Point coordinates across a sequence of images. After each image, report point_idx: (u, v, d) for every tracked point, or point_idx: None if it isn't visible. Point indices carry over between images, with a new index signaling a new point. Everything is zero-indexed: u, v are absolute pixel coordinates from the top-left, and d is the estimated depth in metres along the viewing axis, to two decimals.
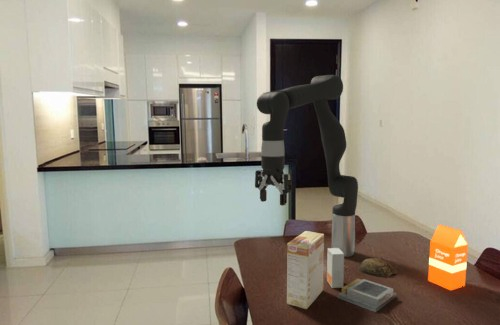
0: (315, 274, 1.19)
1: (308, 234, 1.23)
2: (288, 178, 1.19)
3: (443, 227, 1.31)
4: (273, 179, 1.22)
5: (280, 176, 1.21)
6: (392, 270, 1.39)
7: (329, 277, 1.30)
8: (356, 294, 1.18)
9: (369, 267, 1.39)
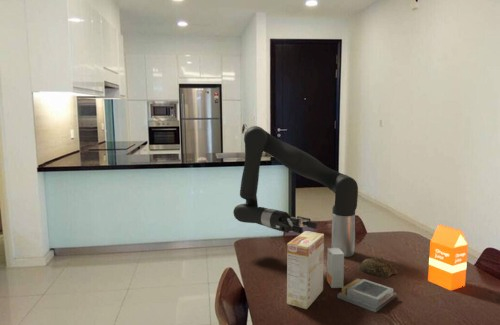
0: (315, 274, 1.19)
1: (308, 234, 1.23)
2: (277, 227, 1.38)
3: (443, 227, 1.31)
4: None
5: None
6: (392, 270, 1.39)
7: (329, 277, 1.30)
8: (356, 294, 1.18)
9: (370, 267, 1.39)
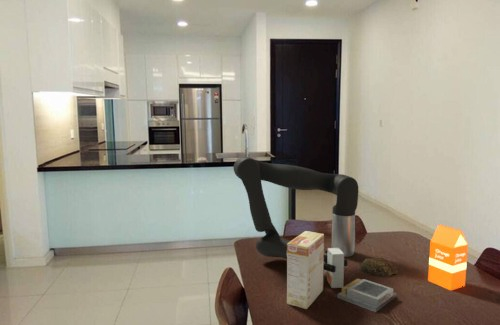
0: (315, 274, 1.19)
1: (308, 234, 1.23)
2: None
3: (443, 227, 1.31)
4: None
5: None
6: (393, 270, 1.39)
7: (329, 277, 1.30)
8: (356, 294, 1.18)
9: (370, 267, 1.40)
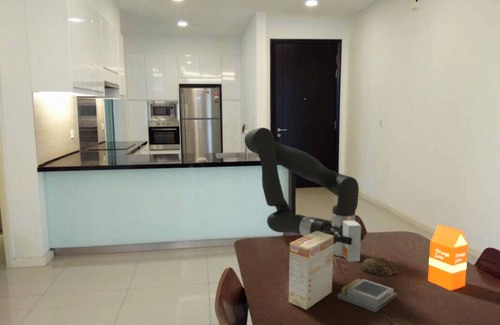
0: (320, 276, 1.17)
1: (317, 235, 1.21)
2: None
3: (443, 227, 1.31)
4: None
5: None
6: (393, 270, 1.39)
7: (345, 250, 1.24)
8: (356, 294, 1.18)
9: (370, 267, 1.40)
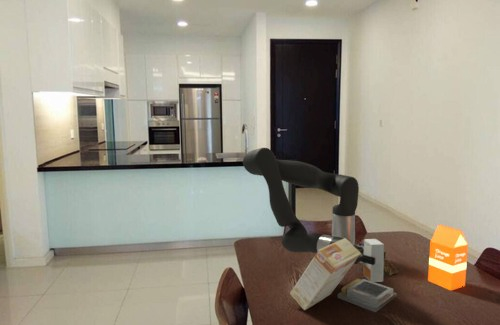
0: (330, 285, 1.14)
1: (345, 246, 1.14)
2: None
3: (443, 227, 1.31)
4: None
5: None
6: (393, 270, 1.39)
7: (367, 270, 1.19)
8: (356, 294, 1.18)
9: None
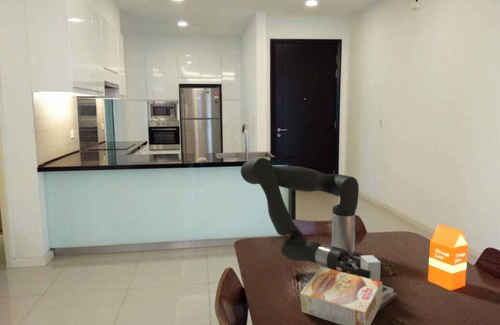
0: None
1: (378, 296, 1.08)
2: (339, 270, 1.20)
3: (443, 227, 1.31)
4: (349, 270, 1.23)
5: None
6: (393, 269, 1.40)
7: None
8: None
9: None
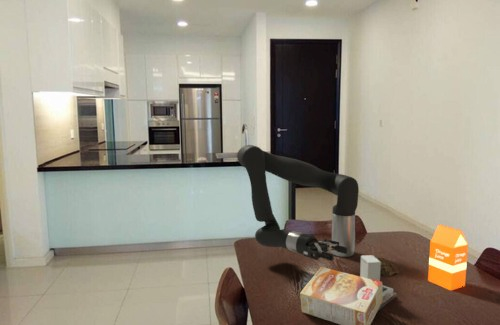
0: None
1: (378, 297, 1.08)
2: (305, 254, 1.29)
3: (443, 227, 1.31)
4: None
5: None
6: (394, 269, 1.40)
7: None
8: None
9: None
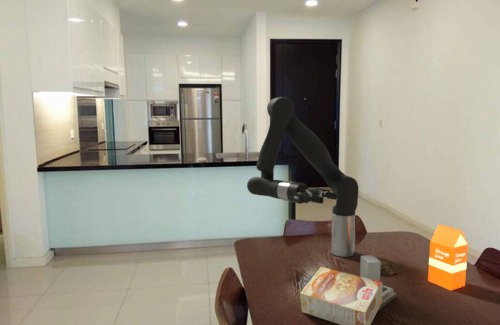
0: None
1: (378, 297, 1.08)
2: (296, 198, 1.30)
3: (443, 227, 1.31)
4: None
5: None
6: (394, 269, 1.40)
7: None
8: None
9: None
